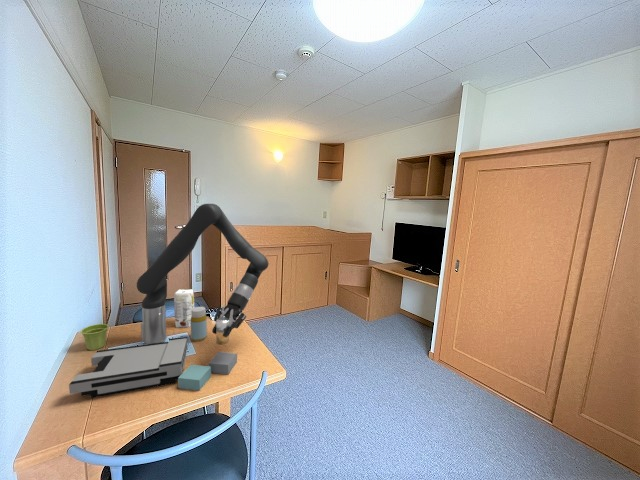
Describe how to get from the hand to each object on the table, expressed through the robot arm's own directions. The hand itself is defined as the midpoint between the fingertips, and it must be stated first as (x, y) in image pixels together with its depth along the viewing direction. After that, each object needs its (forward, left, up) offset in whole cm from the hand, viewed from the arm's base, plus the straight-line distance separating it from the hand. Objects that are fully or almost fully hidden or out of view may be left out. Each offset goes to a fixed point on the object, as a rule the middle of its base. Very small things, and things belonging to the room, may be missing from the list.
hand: (219, 334), depth 104 cm
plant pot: (-61, +7, -15) cm, 63 cm away
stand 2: (+1, +2, -15) cm, 15 cm away
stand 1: (-5, -8, -15) cm, 18 cm away
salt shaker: (+1, +2, -4) cm, 4 cm away
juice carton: (-36, +34, -15) cm, 52 cm away
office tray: (-29, -8, -15) cm, 33 cm away
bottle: (-21, +22, -15) cm, 34 cm away
